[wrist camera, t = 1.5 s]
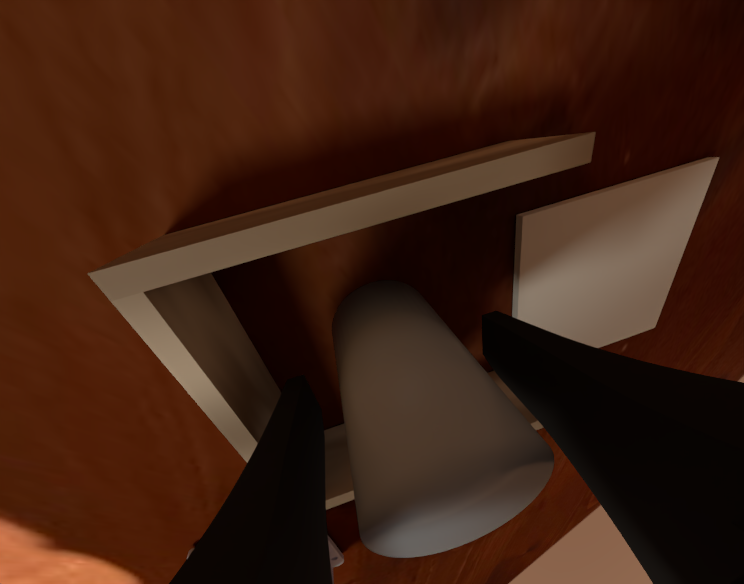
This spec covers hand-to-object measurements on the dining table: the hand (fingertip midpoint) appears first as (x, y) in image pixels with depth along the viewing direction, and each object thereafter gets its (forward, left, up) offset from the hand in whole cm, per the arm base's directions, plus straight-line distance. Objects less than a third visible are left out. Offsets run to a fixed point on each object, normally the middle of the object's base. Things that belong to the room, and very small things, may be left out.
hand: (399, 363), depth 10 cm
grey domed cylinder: (-1, 0, -3) cm, 3 cm away
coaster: (-2, -12, -3) cm, 12 cm away
